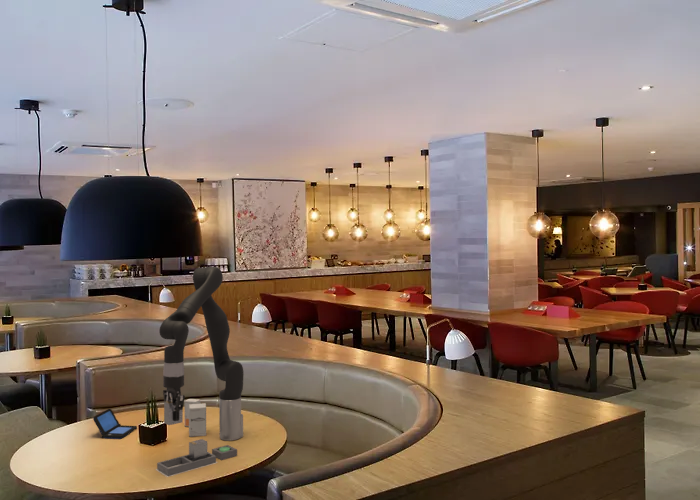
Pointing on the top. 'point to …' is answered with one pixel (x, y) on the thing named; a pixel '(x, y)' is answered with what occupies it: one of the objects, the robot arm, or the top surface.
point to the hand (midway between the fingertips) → (173, 419)
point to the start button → (224, 449)
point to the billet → (171, 414)
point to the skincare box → (187, 402)
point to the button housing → (224, 453)
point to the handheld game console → (111, 425)
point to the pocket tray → (183, 464)
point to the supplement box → (197, 419)
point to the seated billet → (197, 450)
